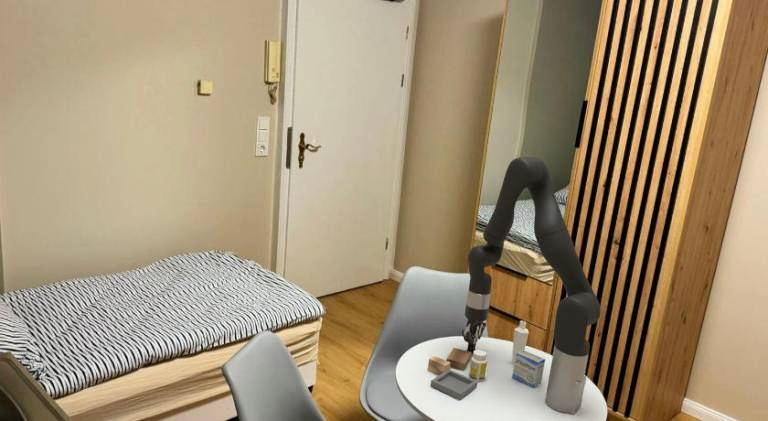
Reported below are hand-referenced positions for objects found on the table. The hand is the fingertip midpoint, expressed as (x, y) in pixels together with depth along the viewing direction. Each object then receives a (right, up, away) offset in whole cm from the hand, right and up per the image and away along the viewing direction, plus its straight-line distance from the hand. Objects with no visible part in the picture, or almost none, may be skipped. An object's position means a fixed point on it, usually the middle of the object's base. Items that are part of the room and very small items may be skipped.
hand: (470, 352), depth 183 cm
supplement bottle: (-1, -4, -14) cm, 15 cm away
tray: (-9, -5, -21) cm, 24 cm away
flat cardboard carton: (-5, -2, -6) cm, 8 cm away
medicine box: (+15, -6, -14) cm, 21 cm away
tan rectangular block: (-12, -3, -14) cm, 19 cm away
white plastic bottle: (+14, -3, -3) cm, 15 cm away
